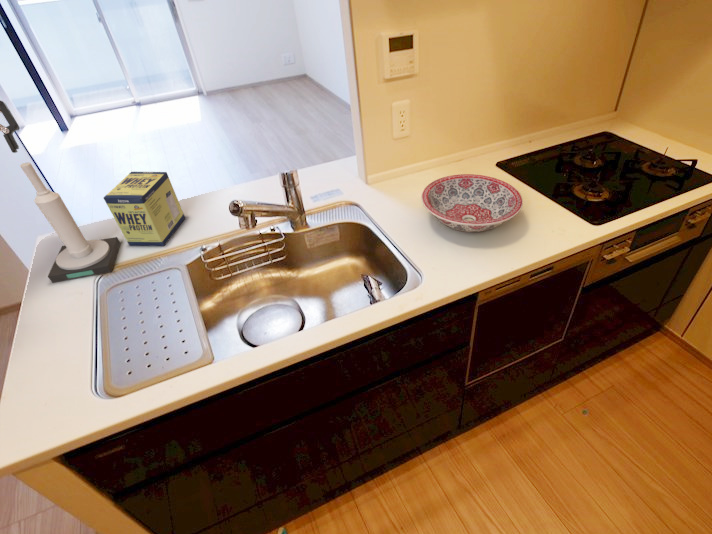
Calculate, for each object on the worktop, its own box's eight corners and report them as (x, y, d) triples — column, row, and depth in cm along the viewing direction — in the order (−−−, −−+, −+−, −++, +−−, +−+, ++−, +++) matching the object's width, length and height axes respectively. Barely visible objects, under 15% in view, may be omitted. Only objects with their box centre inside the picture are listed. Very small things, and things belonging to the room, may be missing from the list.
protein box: (128, 246, 121) (101, 197, 111) (153, 217, 133) (131, 170, 122) (164, 246, 121) (141, 197, 110) (186, 217, 132) (167, 170, 122)
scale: (52, 283, 110) (45, 274, 108) (66, 252, 120) (60, 243, 118) (111, 272, 113) (106, 263, 111) (120, 243, 123) (115, 234, 120)
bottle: (97, 247, 116) (43, 159, 99) (85, 259, 112) (27, 169, 95) (79, 246, 116) (23, 159, 99) (66, 258, 112) (6, 169, 95)
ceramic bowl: (536, 238, 122) (542, 213, 116) (441, 257, 116) (443, 232, 110) (491, 190, 142) (494, 168, 137) (408, 205, 136) (408, 181, 131)
